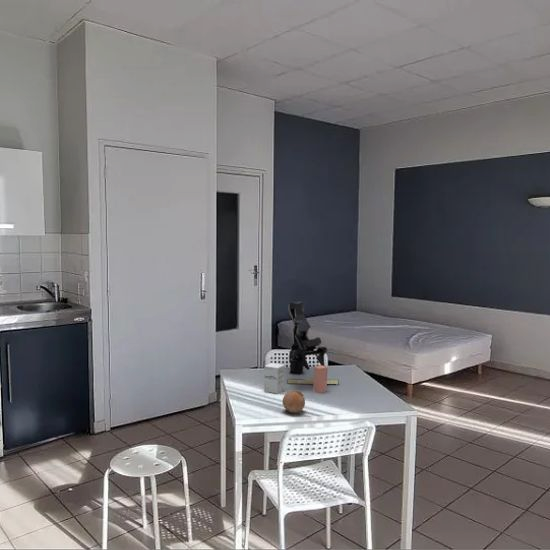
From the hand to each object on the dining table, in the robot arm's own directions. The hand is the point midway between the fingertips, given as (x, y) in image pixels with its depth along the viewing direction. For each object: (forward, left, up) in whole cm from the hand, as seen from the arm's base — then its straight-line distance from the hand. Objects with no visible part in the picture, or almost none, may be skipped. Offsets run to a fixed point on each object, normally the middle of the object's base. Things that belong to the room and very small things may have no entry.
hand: (316, 368), depth 249 cm
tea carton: (+2, -2, -11) cm, 11 cm away
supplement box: (-19, -8, -11) cm, 23 cm away
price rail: (-3, +9, -11) cm, 14 cm away
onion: (-5, -34, -11) cm, 36 cm away
